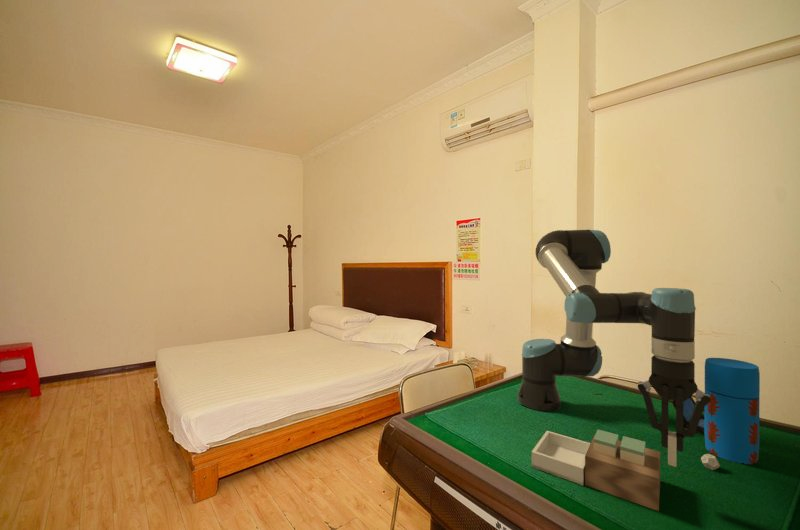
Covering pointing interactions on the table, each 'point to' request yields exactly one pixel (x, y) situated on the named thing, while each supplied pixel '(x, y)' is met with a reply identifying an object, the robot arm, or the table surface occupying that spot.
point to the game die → (710, 461)
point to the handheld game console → (687, 412)
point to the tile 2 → (632, 450)
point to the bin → (561, 456)
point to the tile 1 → (606, 443)
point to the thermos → (732, 409)
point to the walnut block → (625, 476)
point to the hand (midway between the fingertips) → (672, 462)
